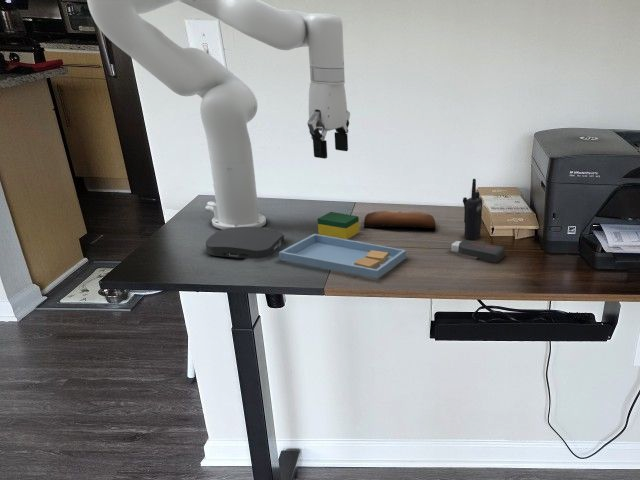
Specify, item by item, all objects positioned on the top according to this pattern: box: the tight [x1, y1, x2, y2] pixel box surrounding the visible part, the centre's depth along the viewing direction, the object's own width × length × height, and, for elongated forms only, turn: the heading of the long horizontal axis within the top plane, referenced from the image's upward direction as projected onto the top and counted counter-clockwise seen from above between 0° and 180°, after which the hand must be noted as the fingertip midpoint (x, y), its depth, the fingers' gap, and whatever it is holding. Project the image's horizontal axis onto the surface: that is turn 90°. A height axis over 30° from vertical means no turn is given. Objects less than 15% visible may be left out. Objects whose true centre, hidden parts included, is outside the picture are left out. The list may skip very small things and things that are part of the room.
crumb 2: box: [365, 250, 388, 264], centre depth 150 cm, size 4×4×1 cm
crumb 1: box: [354, 257, 380, 269], centre depth 146 cm, size 4×4×1 cm
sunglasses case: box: [363, 210, 436, 231], centre depth 173 cm, size 18×7×7 cm
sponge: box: [317, 211, 360, 240], centre depth 164 cm, size 8×6×4 cm
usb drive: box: [450, 239, 506, 264], centre depth 159 cm, size 5×12×3 cm, turn 70°
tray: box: [278, 233, 407, 280], centre depth 150 cm, size 23×14×2 cm, turn 73°
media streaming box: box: [205, 226, 285, 259], centre depth 152 cm, size 15×15×3 cm
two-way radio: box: [462, 178, 483, 241], centre depth 167 cm, size 6×4×15 cm
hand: (331, 153), depth 160 cm, fingers open, 9 cm apart
